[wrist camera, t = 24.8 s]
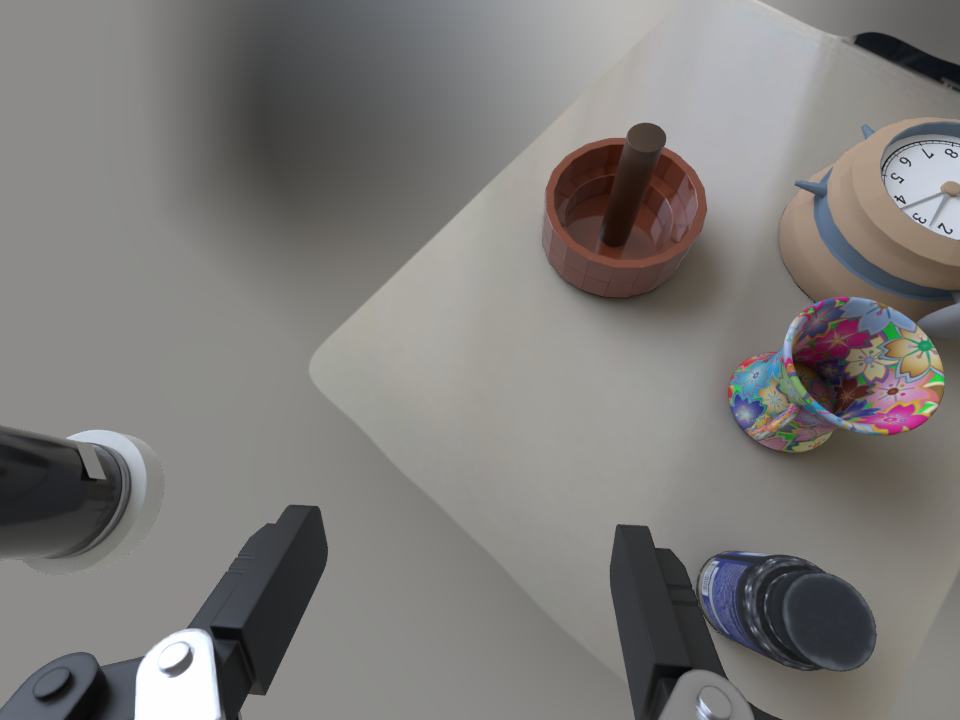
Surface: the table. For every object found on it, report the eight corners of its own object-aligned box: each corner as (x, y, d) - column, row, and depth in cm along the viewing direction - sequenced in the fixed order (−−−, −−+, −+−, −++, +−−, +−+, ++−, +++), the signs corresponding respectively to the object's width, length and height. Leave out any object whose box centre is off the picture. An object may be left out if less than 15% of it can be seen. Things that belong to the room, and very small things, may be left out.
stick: (599, 246, 45) (627, 152, 34) (598, 222, 46) (625, 122, 35) (629, 247, 45) (667, 152, 33) (627, 222, 46) (664, 122, 34)
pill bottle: (731, 658, 34) (826, 716, 23) (676, 577, 36) (742, 597, 25) (798, 610, 34) (919, 645, 24) (740, 534, 36) (831, 536, 26)
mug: (774, 332, 42) (856, 271, 32) (860, 416, 39) (980, 377, 29) (671, 409, 40) (723, 370, 30) (753, 502, 37) (840, 493, 27)
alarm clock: (926, 61, 39) (1237, 237, 32) (851, 146, 48) (1083, 299, 41) (791, 173, 36) (1098, 392, 29) (737, 241, 45) (964, 423, 38)
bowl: (540, 300, 44) (544, 266, 39) (542, 183, 49) (545, 138, 43) (689, 302, 43) (715, 268, 38) (676, 182, 48) (698, 136, 42)
